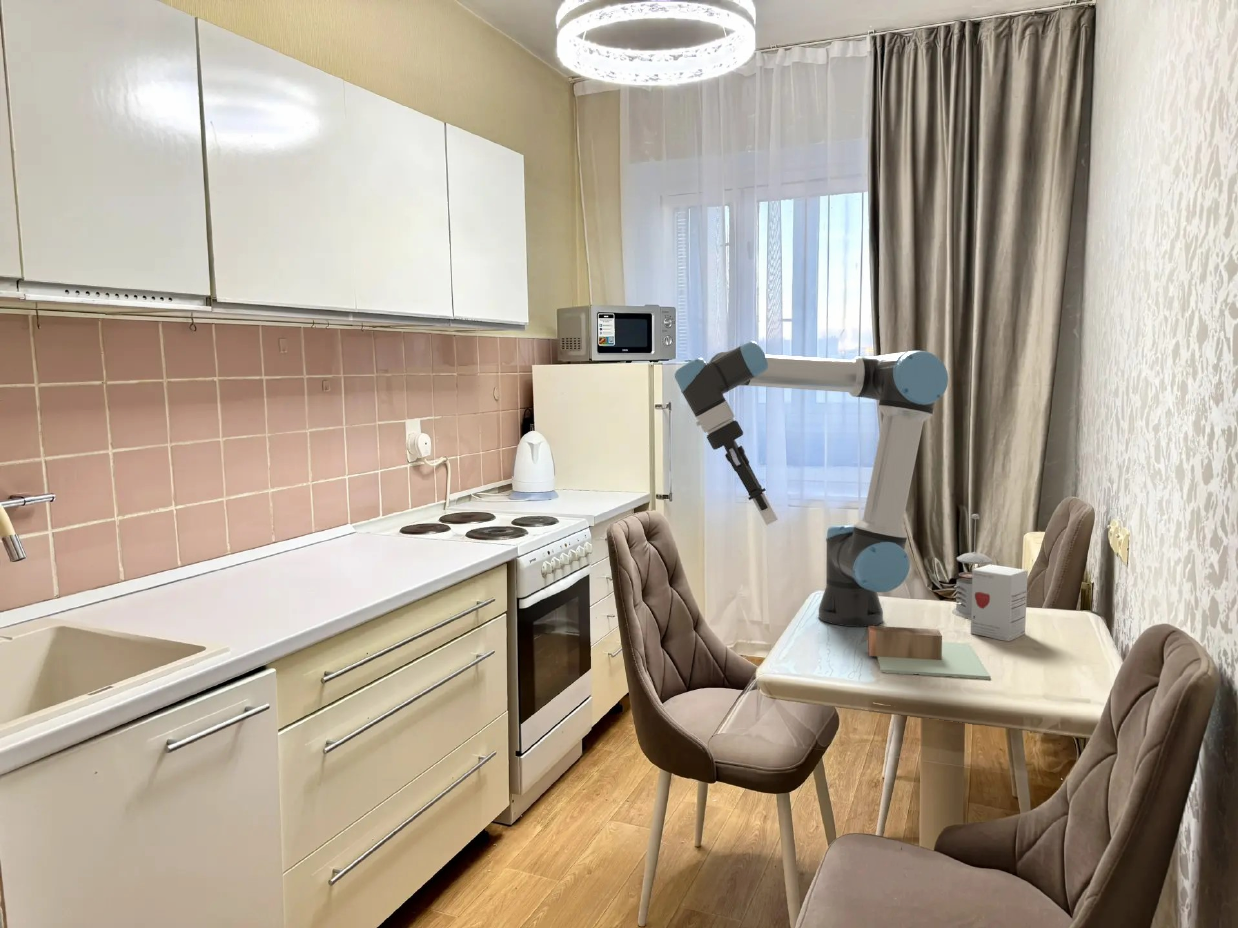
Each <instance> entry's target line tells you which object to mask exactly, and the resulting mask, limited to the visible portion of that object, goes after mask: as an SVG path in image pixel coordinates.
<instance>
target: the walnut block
mask: <svg viewBox="0 0 1238 928" xmlns="http://www.w3.org/2000/svg"><path fill="white" fill-rule="evenodd" d="M867 627H868V629H867V630H868V631H867V632H868V634H867V635H868V636H867V650H868V654H869V656H870V657H877V656H879V657H896V658H914V659H931V660H942V642H943V635H942V633H941V631H940V629H939V628H919V627H901V626H900V627H899V626H881V625H879V626H878V625H872V626H867Z"/></svg>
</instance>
